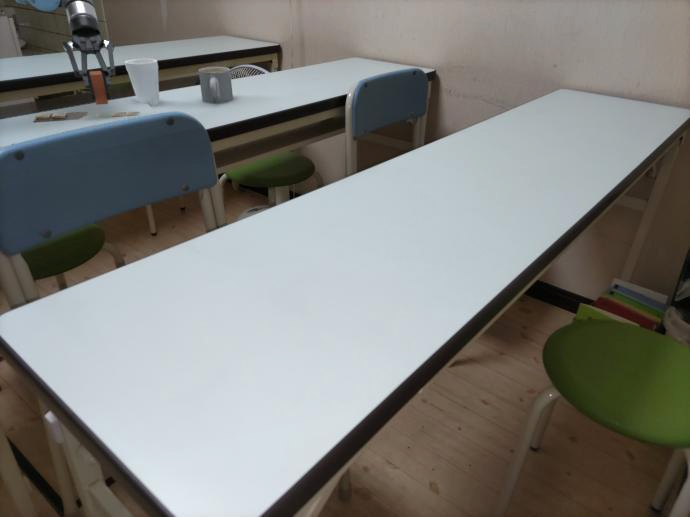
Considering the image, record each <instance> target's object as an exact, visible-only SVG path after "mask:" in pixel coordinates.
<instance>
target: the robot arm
mask: <svg viewBox="0 0 690 517" xmlns="http://www.w3.org/2000/svg"><path fill="white" fill-rule="evenodd" d="M15 2H16V3H18V4H22V5H26V6H30V5H31V6H32V7H33V8H35V9H37V10H39V11H41V12H53V11H54V10H56V9H57V8H65V12H66V16H67V20H68V24H69V29H70V34H71V39H70V41H68V42H67V41H62V47H63V50H64V51H65V53H66V54H67V55H68V59H69V61H70V64H71V65H70V66H71V67H72V70H73V71H72V72H73V73H74V76H75V78H77V79H78V78H81V79H82V81H83V84H84V87H85V88H84V89H89V91H90V94H91V99H92V101H95V100H96V99H95V94H94V90H93V85H92V81H91V77H90V73H89V72H88V55H94V56H95V58H96V60H97V63H98V64H99V67H100V69H101V73H102V76H103V81H104V86H105V91H106V96H107V100H111V96H110V91H109V88H112V81H111V80H112V79H111V77H112V76H113V77H114V76H116V67H115V61H114V60H115V59H114V58H115V57H114V51H115V42H114V40H113V39H110V40H106V39H105V38H104V37H103V36H102V33H101V29H100V24H99V20H98V15H97V11H96V8H95V4H94V0H15ZM104 46H105V49H106V50H107V54H108V55H107V56H108V62H109V68H108V66H107V64H106V62H105V59H104V57H103V55H102V53H101V50H102V49H103V47H104ZM74 48H75V49H76V50H78V51H79V52H80V57H81V58H80V60H81V61H80V62H81V65H80V66H81V69H79V67H78V63H77V60H76V57H75V55H74Z"/></svg>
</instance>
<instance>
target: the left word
mask: <svg viewBox="0 0 690 517" xmlns="http://www.w3.org/2000/svg"><path fill="white" fill-rule="evenodd" d="M88 113H89V112H88V111H73V112H45V113H41V112H40V113H37V114H36V116H35V118H34V120H33V123H47V122H63V121H79V120H80V119H82V118H84V117H86V116H87V114H88Z"/></svg>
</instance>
